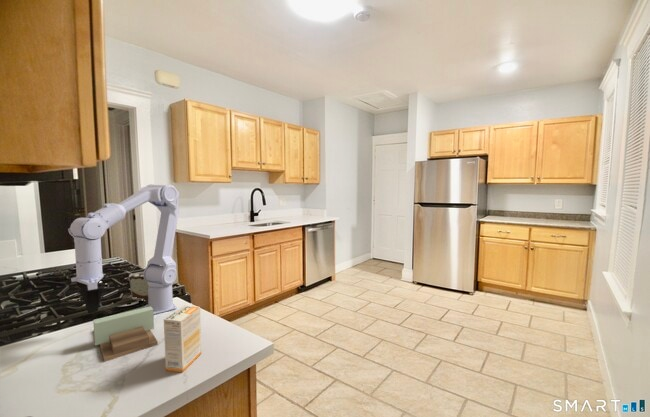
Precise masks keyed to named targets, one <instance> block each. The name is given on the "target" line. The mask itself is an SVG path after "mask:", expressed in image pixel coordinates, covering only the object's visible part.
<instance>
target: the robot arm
mask: <svg viewBox="0 0 650 417" xmlns="http://www.w3.org/2000/svg"><path fill="white" fill-rule="evenodd" d="M179 197H180V192H179V191H178V190H177V188H176V186H174V185H172V184H152V183H151V184H147V185H145V186H143V187H141V188H140V190H138V191H137V192H134V194H132V195H130V196H129V197H127V198H125V199H124V200H122V201H121V202H119V203H115V202H111V203H110V202H109V203H107V202H106V203H104V204H103V205H102V207H101V208H99V209H98V210H96V211H94V212H88V213H87V216H86V217H77V218H76V219H74V220H73V221H72V222H71V224H70V227H69V228H67V230H68V233H69V235H70V236H71V237H72V238H73V242H74V255H75V270H76V272H75V273H76V276H74V277H71V278H70V280H71V282H72V283H74V282H76V284H77V285H78V286H79V288H78V290H77V291H78V293H79V295H80V296H81V297H82V299H83V301H84V304H85V309H86V311H87V314H92V313H95V312H99V307H100V302H101V297H102V295H103V293H104V291H105V289H106V286H105V285H100V286H99V284H100V282H101V280H102V279H104V273H103V259H102V240H101V238H102V237H103V236H104V235H105V233H106V230H108V229H109V228H111V227H113V226H114V225H116V224H118V223H119V222H122V221H123V220H125V218H126V213H128V212H130V211H132V210H134V209H136V208H138V207H141V205H144V204H146V203H148V202H149V203H150V204H152V205H153V206H154V207H156V208H157V209H158V210H159V212H160V218H159V224H158V229H157V230H158V231H157V236H156V241H155V249H154V254H153V256H152V257H151V258H150V259H149V260H148V261H147V264H146V267H145V269H144V270H143V272H144V273H143V277H144V279H145V280H146V281H147V282H148V285H149V287H148V302H147V304H146V305H144V306H145V307H144V308H146V307H150V306H151V307H152V308H153V315H157V314H160V313H161V314H162V313H164V312H169V311H172V310H176V309H177V306H176V305H175V304H174V303H173V300H174V299H173V285H174V282H175V281H176V279H177V276H178V271H177V262H176V261H175V260H174V259H173V258H172V254H173V248H174V242H175V235H176V229H177V224H178V216H179V212H180V210H179V209H180V207H179V206H180V205H179Z"/></svg>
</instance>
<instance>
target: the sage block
mask: <svg viewBox="0 0 650 417" xmlns="http://www.w3.org/2000/svg"><path fill="white" fill-rule="evenodd" d="M154 315H155V314H154ZM154 315H153V308H152V307H151V306H150V307H142V308H138V309H133V310H130V311H125V312H120V313H117V314H113V315H109V316H108V315H107V316H103V317H100V318H96V319H93V336H94V339H93V340H94V344H95V346H98V345H100V344H102V343H105V342H109V335H112V334H116V333H119V332H123V331H127V330H130V329H134V328H138V327H141V326H143V327H144V329H145V331H147V330H151V331H152V330H154V329H155V323H154V319H155V318H154Z"/></svg>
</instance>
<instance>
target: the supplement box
mask: <svg viewBox="0 0 650 417" xmlns="http://www.w3.org/2000/svg"><path fill="white" fill-rule="evenodd" d="M201 325H202V324H201V307H200V306H197V305H195V306H194V305H183V306H181V307H180V308H179V309H177V310H175V311H174V312H173V313H171V314H169V315H168V316H166V317H165V318H163V329H164V358H165V370H166V371H169V372H175V373H176V372H178V373H184V372H185V371H186V370H187V369H188V368H189V367H190V366H191V364H192V363H194V362H195V360H196V359H197V358H198V357H199V356H200V355H201V354H202V332H201V330H202V329H201V328H202V327H201Z"/></svg>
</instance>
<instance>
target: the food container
mask: <svg viewBox="0 0 650 417" xmlns="http://www.w3.org/2000/svg"><path fill="white" fill-rule="evenodd" d="M143 273H144V271H139V272H135V273H130V274H129V275H128V278H127V281H129V288H130V293H131V294H130V295H131V298H132V297H137V298H144V299H145V300H146V301H148V287H149V285H148V282H147V281H146V280H145V279H144V277H143Z"/></svg>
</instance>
